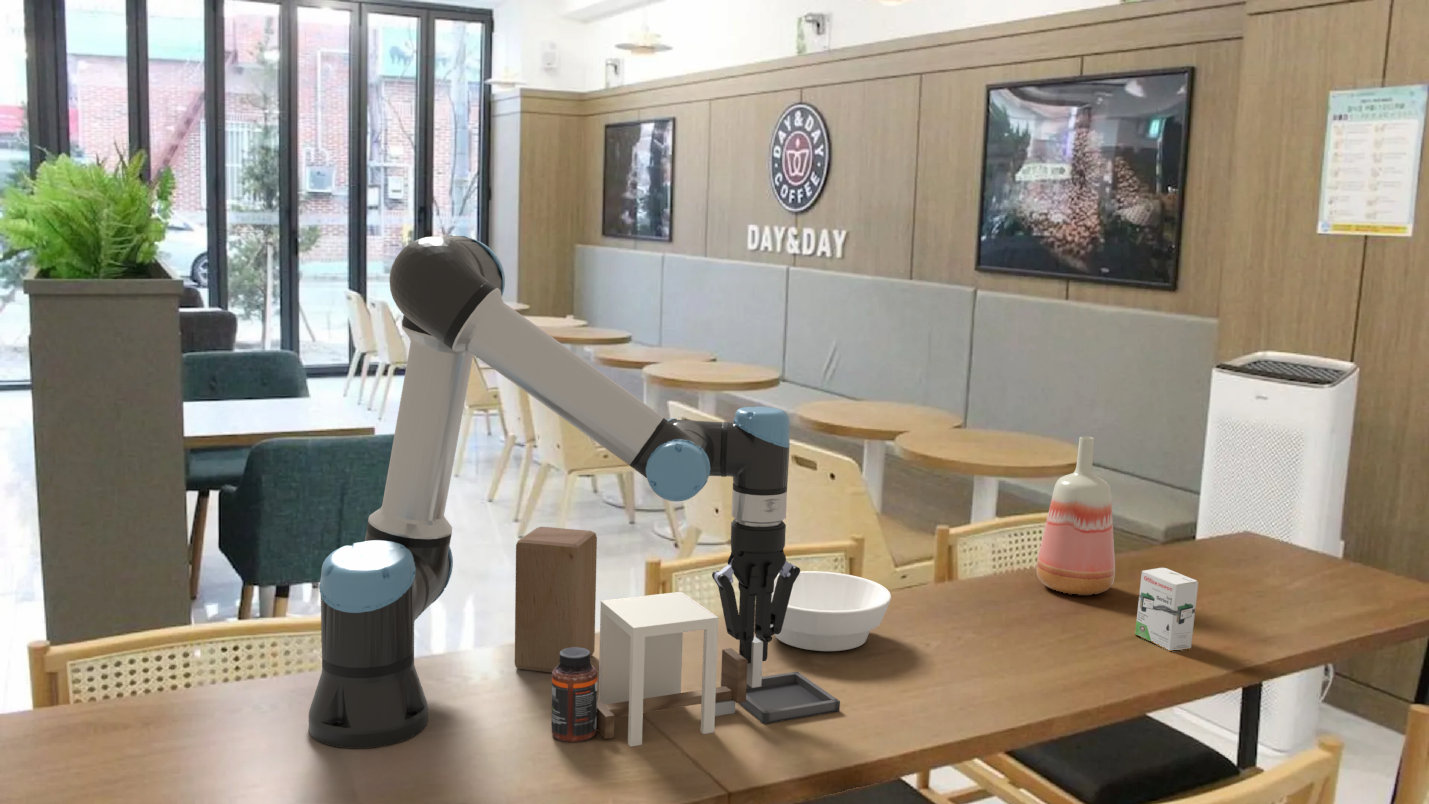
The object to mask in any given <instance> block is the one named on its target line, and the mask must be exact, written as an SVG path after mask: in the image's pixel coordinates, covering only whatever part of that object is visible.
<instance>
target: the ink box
mask: <svg viewBox="0 0 1429 804" xmlns="http://www.w3.org/2000/svg"><path fill="white" fill-rule="evenodd" d="M1139 584H1140V585H1139V596H1138V604H1137V612H1136V613H1137V614H1136V623H1135V631H1134V635H1135V634H1136V635H1139V636H1141V637H1143V638H1145V639H1147V640H1149V641H1153V642H1154V643H1156V644H1159V645H1160V646H1162V647H1165V648H1166V649H1168V650H1181V649H1185V648H1186V649H1187V648H1191V649H1192V642H1193V633H1194V624H1195V615H1196V608H1197V607H1196V606H1197V601H1198V600H1197V599H1198V589H1199V582H1198V580H1197V579H1194V578H1192V577H1189V576H1186V575H1184V574H1182V573H1179V572H1177V571H1174V570H1172V569H1169V568H1166V567H1158V568H1151V569H1145V570H1142V571H1141V575H1140V583H1139ZM1181 651H1182V650H1181Z"/></svg>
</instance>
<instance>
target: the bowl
mask: <svg viewBox="0 0 1429 804" xmlns="http://www.w3.org/2000/svg"><path fill="white" fill-rule="evenodd" d="M779 574H780V573H779ZM779 574H778V575H777V577H776V578H775V580H774V591H775V587H776V583H777V579H778V577H779ZM773 595H774V592H773V593H772V599H773ZM891 600H892V595H891V592H890V590H888V589H887V588H886V587H885V586H883V585H882V584H880V583H878V582H876V581H874V580H871V579H867V578H864V577H861V576H856V575H852V574H847V573H840V572H832V571H817V570H814V571H813V570H811V571H810V570H808V571H807V570H805V571H802V570H800V573H799V575H798V577H797V578H796V580H795V582H794V583H793V587H792V591H791V595H790V599H789V603H788V607H787V610H786V614H785V618H784V622H783V626H782V630H781V632H780V634H774V635H773V636H775V638H776V639H778V640H779V641H780V642H781V643H784V644H786V645H788V646H791V647H795V648H799V649H804V650H810V651H816V652H840V651H847V650H852V649H855V648H858V647H860V646H862V645H863V644H865V643H866V642H867V639H868V637H869V634H870V632H871V630H874V629H876V628H878V627H879V626H880V625H881V624H882V621H883V619H884V616H885V614H886V612H887V609H888V607H889V604H890V603H891ZM771 602H772V601H771Z"/></svg>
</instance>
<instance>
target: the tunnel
mask: <svg viewBox="0 0 1429 804" xmlns="http://www.w3.org/2000/svg"><path fill="white" fill-rule="evenodd" d="M599 616H600V618H599V621H600V622H599V625H600V626H599V659H598V660H599V662H598V664H599V665H598V666H599V667H598V668H599V669H598V699H599V700H600V701H601V702H602V703H603V704H604V705H605V704H612V703H619V702H625V701H629V715H628V725H627V745H628V746H629V747H630V748H631V747H637V746H642V745H643V719H644V718H643V717H644V715H643V714H644V713H643V699H645V698H651V697H658V696H664V695H671V694H677V693H682V667H683V666H682V664H683V663H682V662H683V636H684V635H683V633H686V632H687V633H688V632H694V631H702V630H703V645H702V646H703V649H702V650H703V651H702V674H701V675H702V677H701V678H702V680H701V681H702V682H701V690H702V702H701V704H700V705H701V707H700V708H701V709H700V733H701V734H702V735H706V734H713V733H715V717H720V716H725V715H726V716H727V715H731V714H736V702H735V701H733V700H732V699H728V700H722V701H716V702H715V697H716V688H717V669H718V668H717V667H718V665H717V663H718V642H719V641H718V640H719V639H718V637H719V616H717V615H715V614H714V613H713V612H712V611H710V610H708V609H707V608H706V607H704V606H702V604H700V603H698V602H697V601H695V600H694V599H693V598H691V597H689V596H688V595H687V594H686V593H684V592H682V591H676V592H667V593H658V594H657V593H655V594H649V595H647V594H646V595H639V596H631V597H623V598H621V597H619V598H614V599H611V598H610V599H604V600H600V615H599Z"/></svg>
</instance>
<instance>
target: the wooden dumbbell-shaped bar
mask: <svg viewBox="0 0 1429 804" xmlns="http://www.w3.org/2000/svg"><path fill="white" fill-rule="evenodd" d="M747 662H748V660H747V659H745V658H744V657H743V656H741V655H740V654H739V652H737V651H735V650H734V649H733V648H731V647H730V648H729V647H728V648H723V649H721V673H720V686H716V697H715V702H716V701H722V700H728V699H732V700H733V701H735V704H739V703H741V702H746V686H747ZM701 702H702V689H699V690H691V691H685V692H681V693H677V694H671V695H664V696H658V697H651V698H645V699H643V714H645V713H653V712H657V711H663V710H670V709H679V708H683V707H689V706H696V705H701ZM625 716H626V717H628V716H629V701H625V702H619V703H612V704H605V705H604V704H603V703H602V702H601V701H600V700H599V697H597V729H596V731H598V733H599V734H601V736H602V737H603V738H604V739H606V740H607V739H613V738H614V737H615V736H614V735H615V718H621V717H625Z"/></svg>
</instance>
